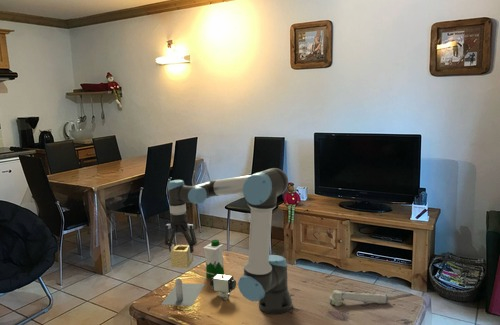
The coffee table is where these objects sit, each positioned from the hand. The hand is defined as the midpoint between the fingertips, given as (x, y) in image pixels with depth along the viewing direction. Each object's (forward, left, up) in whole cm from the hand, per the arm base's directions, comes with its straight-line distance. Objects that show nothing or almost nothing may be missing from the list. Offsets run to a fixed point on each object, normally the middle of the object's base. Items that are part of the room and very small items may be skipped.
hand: (182, 258), depth 193 cm
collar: (0, 0, -3) cm, 3 cm away
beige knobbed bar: (-82, +1, -20) cm, 84 cm away
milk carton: (-10, -20, -19) cm, 30 cm away
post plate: (0, +1, -19) cm, 19 cm away
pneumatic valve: (-20, +1, -19) cm, 28 cm away
